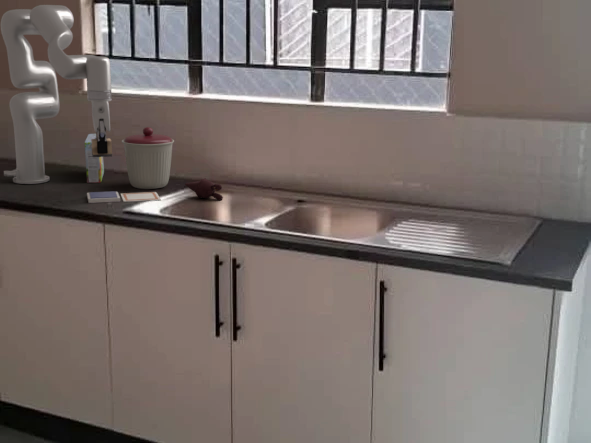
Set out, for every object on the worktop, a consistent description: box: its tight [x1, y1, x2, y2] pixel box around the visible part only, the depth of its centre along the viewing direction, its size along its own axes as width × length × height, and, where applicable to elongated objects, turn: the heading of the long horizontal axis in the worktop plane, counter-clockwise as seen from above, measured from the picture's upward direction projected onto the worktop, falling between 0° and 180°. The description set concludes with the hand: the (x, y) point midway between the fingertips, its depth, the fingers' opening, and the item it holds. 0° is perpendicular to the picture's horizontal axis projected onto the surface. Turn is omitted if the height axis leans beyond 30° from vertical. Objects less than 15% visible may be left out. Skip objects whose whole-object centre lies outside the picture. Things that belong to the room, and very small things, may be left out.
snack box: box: [84, 133, 105, 184], centre depth 305 cm, size 21×6×15 cm, turn 10°
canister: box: [121, 126, 175, 190], centre depth 290 cm, size 18×18×21 cm
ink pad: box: [86, 190, 121, 204], centre depth 272 cm, size 10×10×2 cm
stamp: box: [91, 133, 113, 158], centre depth 267 cm, size 6×6×7 cm
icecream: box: [184, 178, 224, 201], centre depth 275 cm, size 7×7×15 cm
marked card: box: [120, 191, 162, 203], centre depth 275 cm, size 12×12×1 cm
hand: (101, 151), depth 268 cm, fingers closed on stamp, 6 cm apart
